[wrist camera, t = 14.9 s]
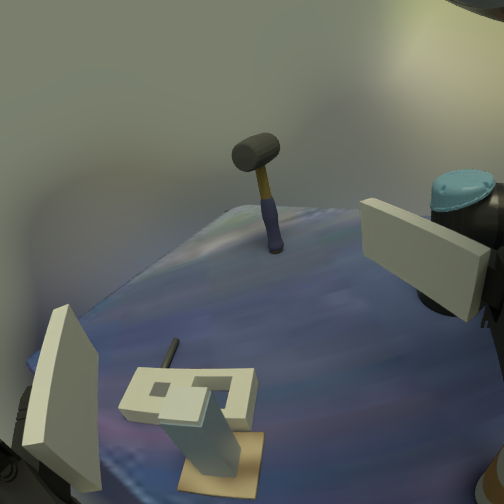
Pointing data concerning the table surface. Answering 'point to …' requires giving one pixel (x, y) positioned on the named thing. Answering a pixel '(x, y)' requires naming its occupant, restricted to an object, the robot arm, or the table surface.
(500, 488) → the coffee cup
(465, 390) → the table surface
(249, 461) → the coaster
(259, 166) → the rubber mallet
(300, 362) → the table surface
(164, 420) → the pale grey tall block
